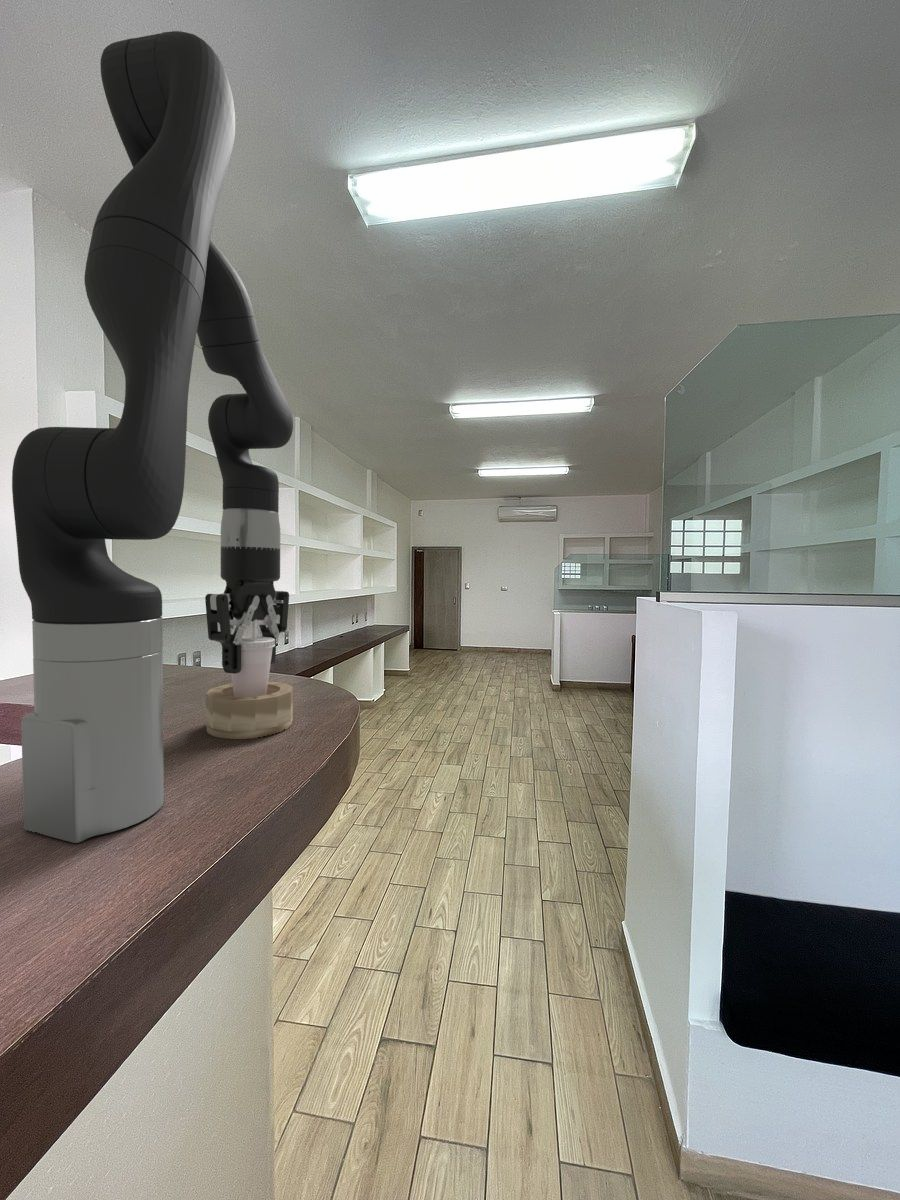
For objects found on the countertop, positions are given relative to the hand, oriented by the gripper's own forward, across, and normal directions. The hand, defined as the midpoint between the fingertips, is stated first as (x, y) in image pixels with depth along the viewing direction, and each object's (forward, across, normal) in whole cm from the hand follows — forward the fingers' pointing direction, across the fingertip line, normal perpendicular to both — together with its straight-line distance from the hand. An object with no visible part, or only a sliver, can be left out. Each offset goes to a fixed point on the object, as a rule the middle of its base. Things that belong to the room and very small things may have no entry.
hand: (250, 667), depth 70 cm
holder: (+8, 0, 0) cm, 8 cm away
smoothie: (+6, 0, 0) cm, 6 cm away
